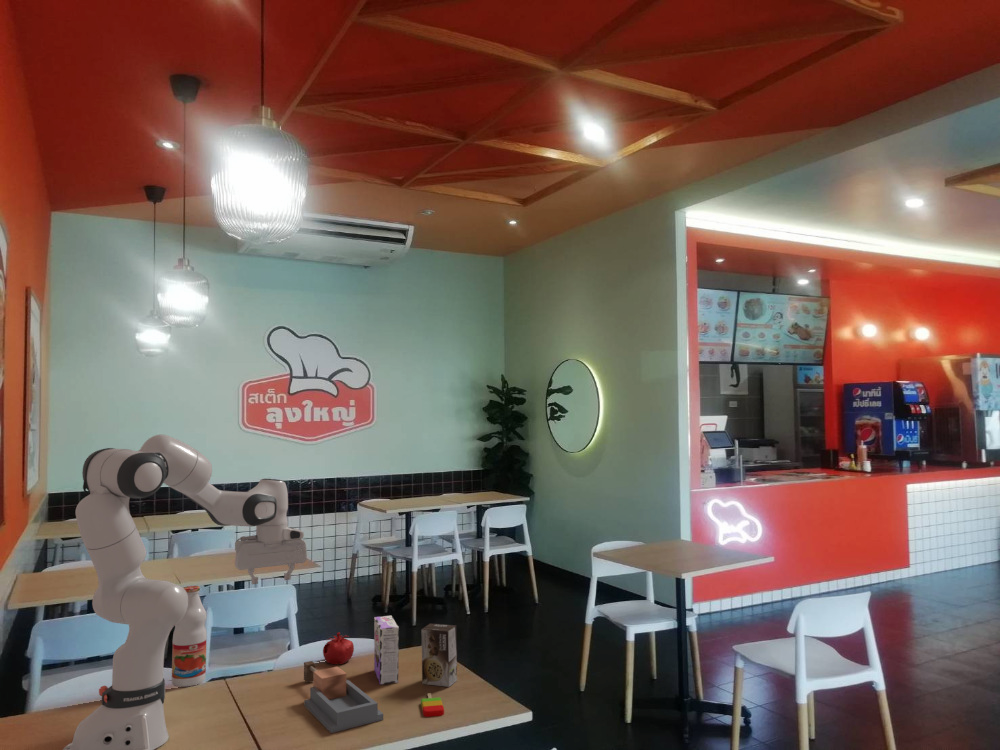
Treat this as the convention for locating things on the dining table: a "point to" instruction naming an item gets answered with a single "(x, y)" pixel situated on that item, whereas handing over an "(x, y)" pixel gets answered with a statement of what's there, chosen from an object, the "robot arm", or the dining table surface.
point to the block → (326, 680)
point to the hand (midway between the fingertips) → (271, 581)
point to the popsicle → (432, 706)
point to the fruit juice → (190, 643)
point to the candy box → (386, 649)
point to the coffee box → (439, 655)
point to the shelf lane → (343, 709)
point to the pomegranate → (338, 650)
